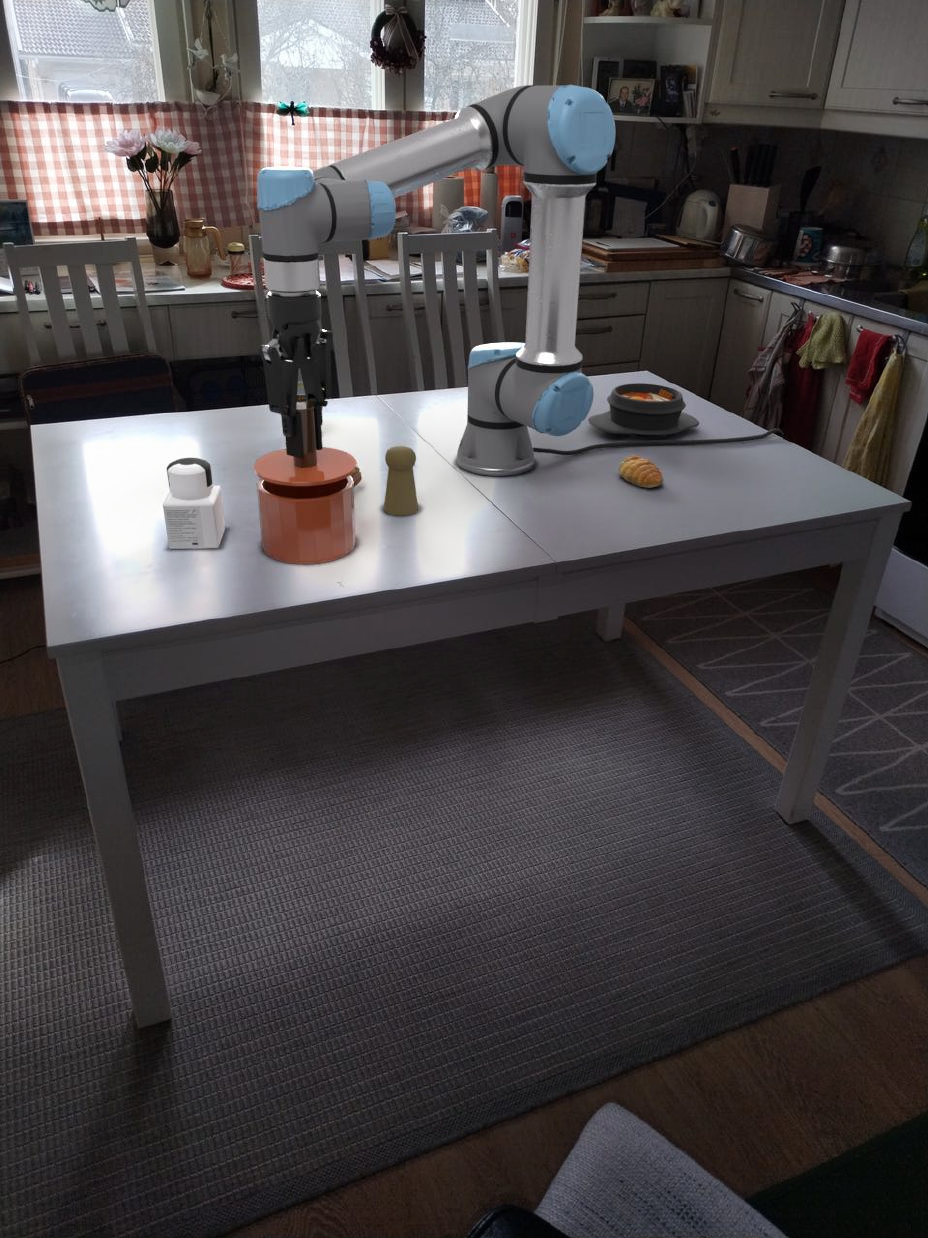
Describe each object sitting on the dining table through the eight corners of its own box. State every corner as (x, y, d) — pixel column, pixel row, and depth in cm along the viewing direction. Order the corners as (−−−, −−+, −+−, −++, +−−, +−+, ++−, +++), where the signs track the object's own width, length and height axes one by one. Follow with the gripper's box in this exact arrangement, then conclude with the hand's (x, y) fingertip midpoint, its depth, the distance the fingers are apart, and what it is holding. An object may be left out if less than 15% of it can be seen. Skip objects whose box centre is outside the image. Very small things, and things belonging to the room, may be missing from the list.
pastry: (671, 487, 173) (674, 468, 171) (641, 492, 170) (644, 473, 168) (642, 470, 180) (644, 452, 178) (613, 475, 178) (615, 456, 176)
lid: (364, 455, 148) (361, 392, 143) (348, 491, 134) (345, 424, 129) (267, 451, 148) (261, 389, 143) (242, 488, 135) (235, 420, 130)
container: (177, 529, 151) (167, 453, 144) (225, 528, 151) (217, 453, 145) (168, 549, 144) (157, 471, 138) (219, 549, 145) (209, 470, 138)
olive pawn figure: (413, 517, 158) (413, 455, 152) (379, 513, 159) (378, 452, 153) (421, 503, 163) (422, 444, 157) (388, 500, 164) (388, 440, 158)
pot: (361, 527, 153) (359, 467, 148) (347, 566, 141) (344, 502, 135) (274, 523, 154) (269, 463, 149) (252, 562, 141) (246, 498, 136)
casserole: (671, 413, 214) (676, 377, 210) (714, 438, 199) (721, 400, 195) (573, 421, 207) (576, 384, 202) (610, 448, 191) (615, 408, 187)
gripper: (312, 279, 136) (321, 432, 148) (230, 296, 124) (247, 462, 135) (352, 285, 132) (358, 441, 144) (271, 303, 120) (285, 473, 132)
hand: (304, 451), depth 140 cm, fingers closed on lid, 4 cm apart
